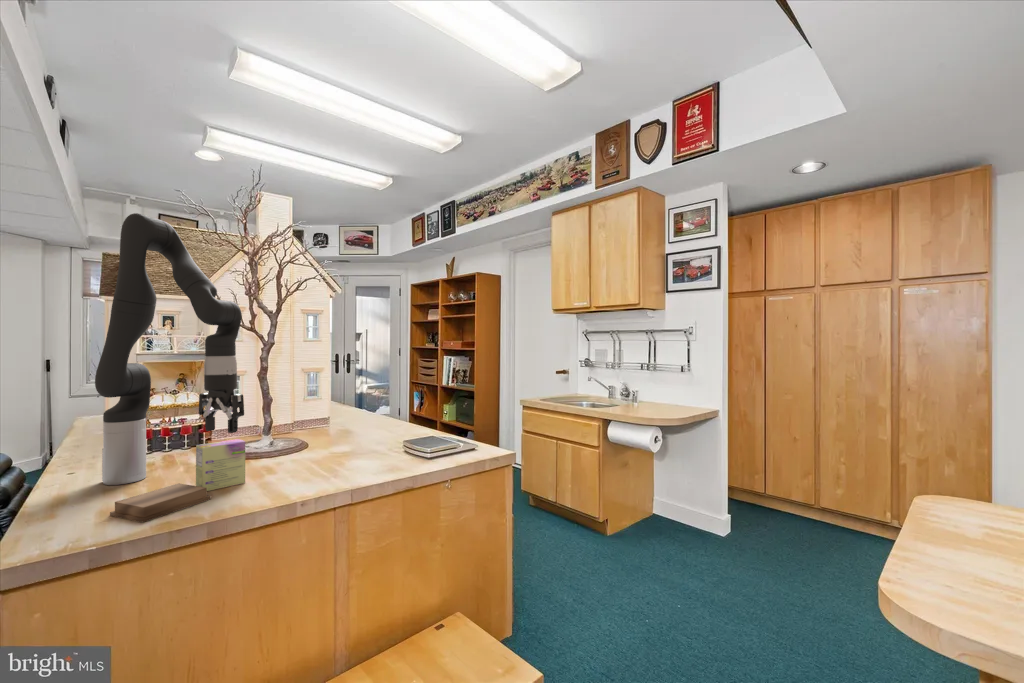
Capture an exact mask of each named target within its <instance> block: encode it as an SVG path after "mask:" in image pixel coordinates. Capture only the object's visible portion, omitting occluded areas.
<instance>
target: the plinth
mask: <svg viewBox="0 0 1024 683" xmlns="http://www.w3.org/2000/svg"><path fill="white" fill-rule="evenodd" d="M207 494H208V491H207V488H205V487H199V486H196V485H191V484H184V483H175V484H173V485H170V486H165V487H162V488H161V487H160V488H159V489H155V490H152V491H148V492H144V493H141V494H137V495H135V496H131V497H128V498H123V499H120V500H117V501H114V510H113V511H110V512H109V516H110V517H114V518H120V519H123V520H129V521H132V522H137V523H145V522H148V521H151V520H154V519H157V518H160V517H163V516H165V515H168V514H172V513H174V512H177V511H180V510H183V509H186V508H190V507H192V506H196V505H198V504H201V503H204V502H206V501H209V500H212V499H211V498H212V497H211V495H207Z"/></svg>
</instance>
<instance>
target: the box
mask: <svg viewBox="0 0 1024 683" xmlns="http://www.w3.org/2000/svg"><path fill="white" fill-rule="evenodd" d="M195 446H196V447H195V486H199V487H205V488H207V492H209V491H213V490H218V489H223V488H228V487H234V486H237V485H242V484H245V483H246V440H243V439H239V438H235V439H228V440H223V441H216V442H210V443H202V444H196V445H195Z"/></svg>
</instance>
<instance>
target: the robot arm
mask: <svg viewBox="0 0 1024 683" xmlns="http://www.w3.org/2000/svg"><path fill="white" fill-rule="evenodd" d="M119 240H120V241H119V259H118V260H119V262H118V270H117V277H116V283H115V290H114V294H113V296H112V297H113V298H112V304H111V307H110V308H111V309H110V317H109V318H110V319H109V324H108V329H107V332H106V337H105V342H104V345H103V349H102V352H101V356H100V359H99V362H98V365H97V368H96V372H95V376H94V387H95V389H96V392H97V393H98V394H99V395H100V396H101V397H103V398H110V399H111V398H119V400H118V402H117V403H116V404H115V405H114V406H112V407H110V408H109V409H107V410H105V411H104V412H103V414H102V416H103V417H102V418H103V419H102V422H103V424H102V425H103V426H102V430H103V433H102V436H103V438H102V439H103V440H102V442H103V447H102V450H101V451H102V455H101V456H102V458H101V459H102V470H101V472H102V473H101V475H102V477H101V479H102V480H101V481H102V484H103V485H106V486H107V485H108V486H117V485H125V484H131V483H134V482H139V481H142V480H143V479H146V477H147V412H148V410H149V408H150V404H151V403H150V401H151V389H152V388H151V386H152V378H151V373H150V371H149V369H148V367H147V366H145V365H144V364H142V363H138V362H135V363H134V362H133V363H129V358H130V354H131V351H132V349H133V348H134V345H135V344H136V343H137V342H138V341H139V339H140V338H141V337H142V336H143V335H144V334H145V333H146V331H147V330H148V329H149V328H150V326H151V325H152V323H153V321H154V317H155V312H156V306H157V294H156V292H155V288H154V286H153V284H152V282H151V280H150V277H149V275H148V272H147V268H146V260H147V254H148V251H149V252H150V251H151V252H157V253H159V254H160V255H162V256H163V257H164V258H165V259H166V260H167V261H168V262H169V263H170V265H171V268H172V269H171V272H172V277H173V280H174V282H175V283H176V285H177V286H178V288H179V289H180V290H181V291H182V292H183V293H184V294H185V296H186V297H187V298H188V299H189V301H190V304H191V306H192V309H193V311H194V313H195V315H196V317H197V318H198V320H200V321H201V322H202V323H204V324H206V325H209V326H217V327H216V331H215V333H214V334H213V333H212V334H210V335H208V336H206V337H205V338H204V339H205V340H204V364H203V374H204V375H203V378H204V379H203V382H204V385H203V386H204V390H205V391H206V392H204V393H199V394H198V395H199V397H198V415H199V416H203V418H204V428H205V431H206V432H211V431H215V430H216V417H215V415H216V414H217V412H218V411H222V413H224V414H225V415H226V417H227V433H228V434H234V433H237V432H238V428H239V427H238V422H239V420H238V419H239V418H240V417H243V416H245V404H244V402H245V401H244V395H243V393H240V394H239V393H238V394H235V392H234V390H236V389H237V388H238V371H237V370H238V367H237V366H238V362H237V356H236V353H237V352H236V351H237V350H236V349H237V348H236V346H237V345H236V342H237V341H236V340H237V337H238V334H239V331H240V326H241V323H242V319H243V318H242V317H243V316H242V315H243V314H242V310H241V308H240V305H238V304H237V303H236V302H234V301H232V300H224V299H216V296H217V295H218V289H217V287H216V286H215V284H214V283H213V282H212V281H211V279H210V278H209V277H207V275H206V274H205V273H204V272H203V270H201V268H200V267H199V266H198V265H197V263H196V262H195V260H194V259H193V257H192V256H191V254H190V252H189V251H188V249H187V247H186V245H185V244H184V242H183V241H182V238H181V237H180V235H179V234H178V232H177V231H176V229H175V228H174V227H173V225H171V224H170V223H169V222H167V221H165V220H163V219H160V218H156V217H152V216H150V215H146V214H142V213H137V212H134V213H131V214H129V215H127V216H126V217H125V218H124V221H123V222H122V225H121V229H120V239H119ZM204 407H205V408H204ZM238 410H239V411H238Z"/></svg>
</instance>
